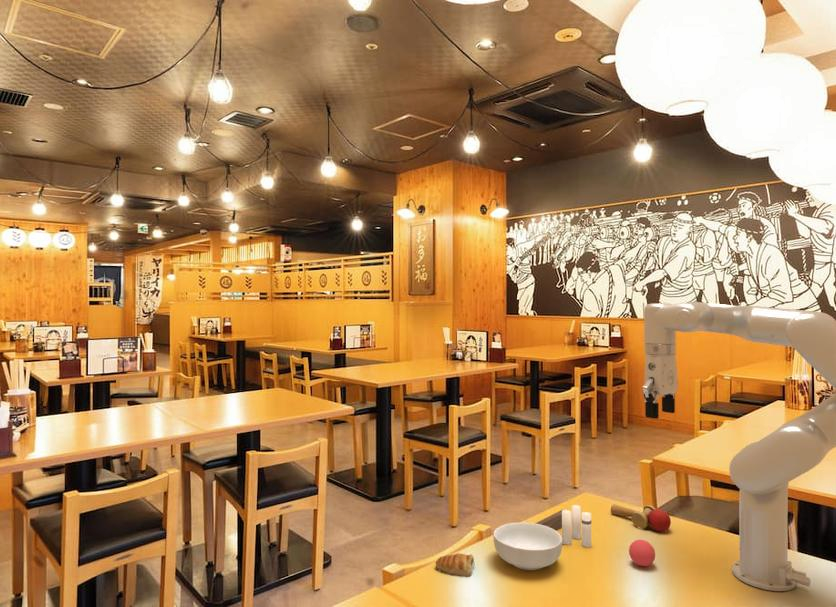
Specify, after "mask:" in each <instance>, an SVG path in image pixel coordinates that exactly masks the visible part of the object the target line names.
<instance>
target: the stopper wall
mask: <svg viewBox="0 0 836 607" xmlns="http://www.w3.org/2000/svg"><path fill="white" fill-rule="evenodd" d="M562 510H563V509H562ZM562 510H559V511H557V512H554V513H553V514H551V515H549V516H547V517H545V518H543V519H541V520H539V521H536V522H535V524H540V525H544V526H547V527H550V528H552V529H554V530H556V531H557V532H558V530H560V529H562Z"/></svg>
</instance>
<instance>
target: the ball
mask: <svg viewBox="0 0 836 607" xmlns="http://www.w3.org/2000/svg"><path fill="white" fill-rule="evenodd" d="M655 551H656V550H655V549H654V547H653V545H652V544H651V543H650V542H648V541H647V540H644V539H636V540H633V541H632V542H631V544H630V545H629V547H628V554H629V556H630V559H631V560H632V561H633V563H635V564H636V565H638V566H640V567H648V566H651V565H652V564H653V563H654V561H655V559H656V552H655Z"/></svg>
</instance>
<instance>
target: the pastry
mask: <svg viewBox="0 0 836 607" xmlns="http://www.w3.org/2000/svg"><path fill="white" fill-rule="evenodd" d="M435 565H436V569H438V570H439V571H441V572H445V573H447V574H449V575H456V576H462V577H470V576H472V575H473V572H474V568H475V559H474V555H473V554H469V555H468V554H464V553H459V552H458V553H456V554H454V553H453V554H452V553H451V554H447V555H444V556H441V557H438V559H437V560H436V561H435Z"/></svg>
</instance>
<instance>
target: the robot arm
mask: <svg viewBox="0 0 836 607" xmlns="http://www.w3.org/2000/svg"><path fill="white" fill-rule="evenodd" d="M643 311H644V312H643V313H644V314H643V316H644V317H643V318H644V319H643V320H644V322H643V324H644V326H643V327H644V330H643V334H644V335H643V336H644V343H643V344H644V356H645V363H644V364H645V365H644V384H643V386H642V391H643V398H644V403H645V406H644V407H645V411H644V412H645V413H644V414H645V417H646V418H649V419H654V420H656V419H659V417H660V416H659V402H658V400H659V397H660V395H661V412H663V413H667V414H668V413H669V414H674V413H675V412H676V410H675V409H676V404H675V403H676V392H677V391H678V387H679V386H678V385H679V384H678V368H677V367H678V366H677V360H676V356H677V353H676V350H677V349H676V348H677V345H676V343H677V342H676V336H677V335H676V333H677V332H681V333H695V332H708V333H718V334H722V335H723V334H725V335H731V336H735V337H739V338H742V339H743V340H745V341H748V342H751V343H759V344H765V345H774V346H781V347H782V346H783V347H789V348H790V347H791V348H793V349H794V350H795V351H796V352H797V353H798V354H799V355H800V356H801V357H802V358H803V359H804V360H805V361H806V362H807V364H809V365H810V366H811V367H812V368H813V369H814V370H815V371H816V372H817V373H818V374H819V375H820V376H821V377H822V378H823V379H824V380H825V381H826V382H827V383H828V384H829V385H831V387H833V388H834V389H835V390H836V319H835V318H834V317H833V316H831V315H829V314H828V313H825V312H821V311H814V310H801V309H790V308H780V307H772V306H771V307H770V306H769V307H768V306H760V305H759V306H757V305H732V304H724V303H723V304H720V303H710V302H702V301H700V302H698V301H697V302H696V301H694V302H682V303H673V304H672V303H669V302H668V303H666V302H665V303H662V302H661V303H657V302H656V303H653V302H652V303H649V304H646V305H645V307H644V310H643ZM834 448H836V392H834V394H832V395H831V396H829V397H828V398H826V399H824V400H823V401H821V402H820V403H819V404H817V405H816V406H814V407H813V408H811V409H809V410H808V411H806V412H804V413H802V414H801V415H799V416H796V417H795V418H792V419H790V420H788V421H786V422H785V423H783V424H782V425H780V427H778V428H777V429H776V430H774V431H773V432H771V433H769V434H768V435H766V436H764V437H763V438H761V439H760V440H758V441H755V442H751V443H749V444H747V445H746V446H745V447H743V448H742V449H741V450H740V451H739V452H738V453H736V454H735V455H734V456H733V457H732V459H731V460H730V463H729V475H730V479H731V480H732V482H733V483H734V485H736V487H737V488H738V489H739V496H738V497H739V502H738V503H739V504H738V505H739V507H738V508H739V510H738V512H739V513H738V515H739V518H738V519H739V520H738V521H739V528H738V529H739V534H738V535H739V560H738V561H736V562H734V563H733V564H732V565H731V567H732V568H731V570H732V571H731V572H732V573H733V576H735V577H736V578H737V579H738V580H740V581H741V582H743V583H745V584H747V585H749V586H752V587H754V588H758V589H761V590H766V591H772V592H787V591H791V590H793V589H794V588H796V586H797V583H798V584H799V585H802V586H806V587H808V588H809V587H810V586H811V577H809V576H807V572H804V571H801V570H796V569H795V568H793V567H792V561H790V560H788V558H789V557H788V556H789V555H788V554H789V552H788V551H789V550H788V545H789V544H788V516H789V515H788V501H789V500H788V499H789V498H788V496H789V495H788V494H789V483H790V482H791V481H793V480H795V479H797V478H798V477H801V476H802V475H804V474H806V473H808V472H809V471H810V470H812V469H814V468H815V467H817V466H818V465H819V464H821V462H823V460H824V458H826V456H827V455H828V453H829V452H830V451H832V450H833V449H834Z"/></svg>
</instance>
